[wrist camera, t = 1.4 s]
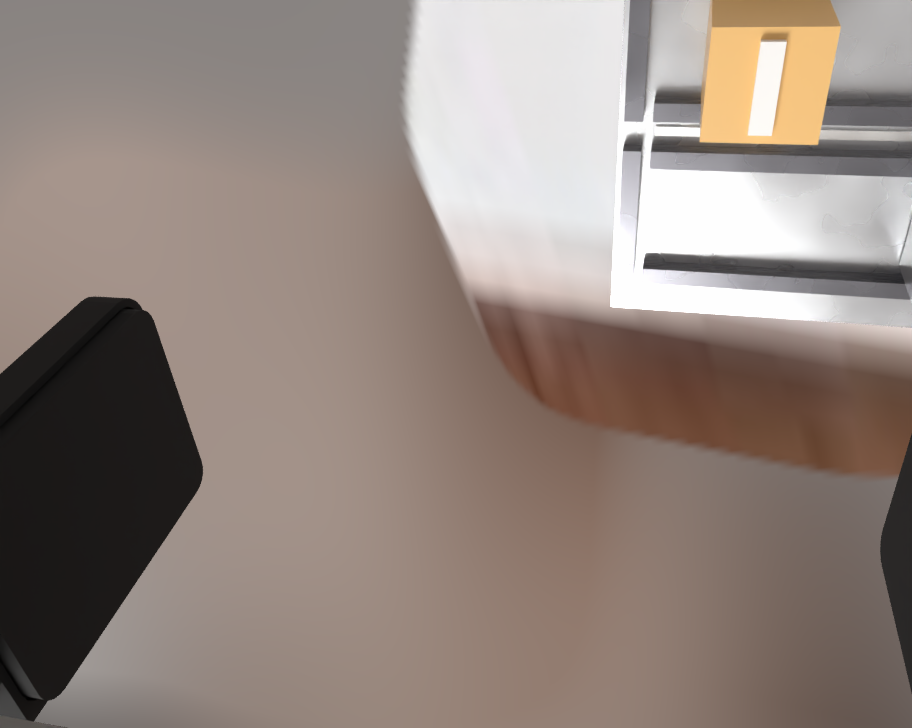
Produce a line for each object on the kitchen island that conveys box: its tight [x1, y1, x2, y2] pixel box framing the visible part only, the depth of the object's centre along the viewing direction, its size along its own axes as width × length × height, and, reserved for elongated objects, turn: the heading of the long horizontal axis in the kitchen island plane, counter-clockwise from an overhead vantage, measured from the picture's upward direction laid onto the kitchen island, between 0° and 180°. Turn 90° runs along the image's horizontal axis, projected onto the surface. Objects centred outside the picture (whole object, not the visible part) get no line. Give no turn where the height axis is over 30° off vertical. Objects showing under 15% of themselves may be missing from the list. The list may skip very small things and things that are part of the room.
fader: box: [700, 0, 841, 145], centre depth 23 cm, size 3×3×5 cm
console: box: [611, 0, 912, 328], centre depth 26 cm, size 14×16×3 cm
